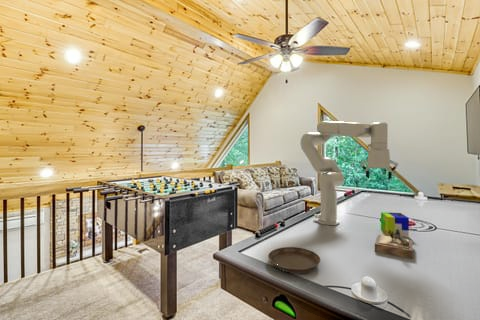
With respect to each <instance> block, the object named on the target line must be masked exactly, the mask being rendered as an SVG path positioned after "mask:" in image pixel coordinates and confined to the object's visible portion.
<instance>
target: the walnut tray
mask: <svg viewBox="0 0 480 320" xmlns="http://www.w3.org/2000/svg"><path fill="white" fill-rule="evenodd" d="M405 239H406V240H407V241H408V242H409V246H408V247H406V246H403V245H402V244H401V241H400V240H399V239H396V241H395V242H394V243H393V239H392V238H391V236H388V235H382V234H377V236H376V239H375V242H374V252H375V253H381V254H385V255H389V256H390V255H391V256H395V257H401V258H404V259H405V258H406V259H410V260H411V259H412V260H413V259H414V258H413V254H414V250H413V249H414V247H413V239H407V238H405Z"/></svg>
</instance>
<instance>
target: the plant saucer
mask: <svg viewBox="0 0 480 320" xmlns="http://www.w3.org/2000/svg"><path fill="white" fill-rule="evenodd" d="M267 258H268V260H269V262H270V263H271V265H273V267H275V268H276V267H277V268H279V269H281V270H284V271H287V272H290V273H289V274H295V275H297V274H298V275H299V274H306V273H309V272H311V271H313V270H315V269H316V268H317V267H318V266H319V264H320V263H321V257H320V256H319V255H318V254H317V253H316V252H314V251H313V250H309V249H306V248H302V247H295V246H286V247H285V246H284V247H278V248H274V249H272V251H270V252H269V253H268V254H267ZM277 264H278V265H277ZM277 268H276V269H277ZM279 269H278V270H279ZM281 270H280V271H281ZM284 271H283V272H284ZM287 272H286V273H287Z"/></svg>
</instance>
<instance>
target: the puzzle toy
mask: <svg viewBox="0 0 480 320" xmlns="http://www.w3.org/2000/svg"><path fill="white" fill-rule="evenodd" d="M409 224H410V218H409V217H408V216H406V215H405V214H403V213H401V212H386V211H385V212H384V211H383V212H380V230H381V231H382V232H383V233H384V234H385V236H389V237H391V236H390V235H389V234H388V233H386V232H385V230H386V231H387V232H389V230H390V231H391V233H392V231H393V233H396V229H398V230H399V231H400V236H401V237H408V238H409V234H410V233H409V230H410V229H409V228H410V227H409V226H410V225H409ZM393 236H394V235H393Z"/></svg>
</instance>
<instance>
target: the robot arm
mask: <svg viewBox="0 0 480 320" xmlns="http://www.w3.org/2000/svg"><path fill="white" fill-rule="evenodd" d="M388 126H389V125H388V123H387V122H383V121H382V122H373V123H365V122H344V121H336V120H335V121H334V120H332V121H329V120H324V121H321V122H319V123H317V125H316V131H317V132H305V133H304V134H303V135H302V136H301V137H300V138H301V139H300V148H301V150H302V152H303V153H304V155H305V156H306V158H307V160H308V162H309V163H310V165H311V166H312V168H313V169H314V171H315V172H316V173H319V174H320V173H322V174H321V175H320V176H319V177H318V183H319V184H318V185H319V189H320V214H318V213H317V214H316V213H314V214H313V216H314V218H315V219H317V222H318V224H320V225H325V226H337V225H339V224H340V220H339V219H337V216H338V213H337V210H338V209H337V208H338V207H337V205H338V196H337V195H338V193H337V190H336V188H337V187H340V186H342V185H343V184H344V183H345V175H344V174H343V172H342V170H341V169H340V167H339V166H338V164H337V163H336V161H335V160H334V159H332V158H330V157H324V156H323V155H322V154H321V152H320V151H319V150H318V148H317V147H315V146H322V145H324V144H325V143H326V142H328V141H329V140H331V138H332V137H334V136H335V137H351V138H352V137H353V138H370V143H369V144H367V147H368V148H369V149H368V152H367V153H368V154H367V159H366V160H364V161H362V162H360V165H361V167H362V169H364V171H365V177H366V178H367V180H368V179H370V169H387V170H388V172H387V173H388V174H387V177H388V178H387V181H390V180H391V179H392V178H393V177H392V176H393V171H395V170H396V169H397V168H398V166H399V163H398V162H395V161H393V160H391V155H390V149H389V148H388V137H389V136H388V133H389V131H388V129H389V127H388ZM366 163H367V166H365V164H366ZM391 164H392V165H394V166H393V167H392V168H391V167H390V166H391Z"/></svg>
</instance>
